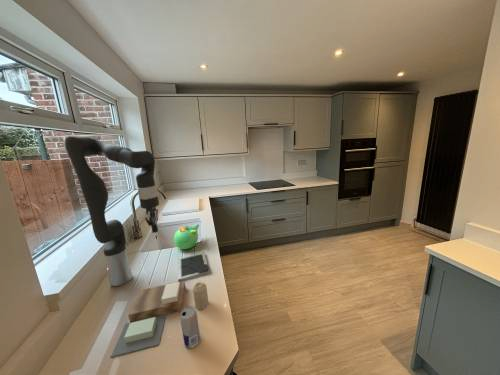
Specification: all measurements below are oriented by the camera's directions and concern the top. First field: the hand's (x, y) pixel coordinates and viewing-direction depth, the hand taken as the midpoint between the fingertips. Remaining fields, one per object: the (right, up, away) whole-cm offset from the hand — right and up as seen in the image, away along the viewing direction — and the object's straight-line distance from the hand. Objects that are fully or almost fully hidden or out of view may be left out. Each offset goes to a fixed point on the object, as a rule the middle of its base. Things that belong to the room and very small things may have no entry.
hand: (155, 231), depth 92 cm
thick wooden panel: (+5, -31, -5) cm, 31 cm away
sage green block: (+4, -31, -19) cm, 36 cm away
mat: (+4, -34, -19) cm, 39 cm away
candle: (+24, -30, -7) cm, 39 cm away
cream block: (+10, -26, -6) cm, 29 cm away
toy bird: (+2, -20, +44) cm, 49 cm away
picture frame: (+12, -25, +21) cm, 35 cm away
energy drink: (+24, -33, -23) cm, 47 cm away
